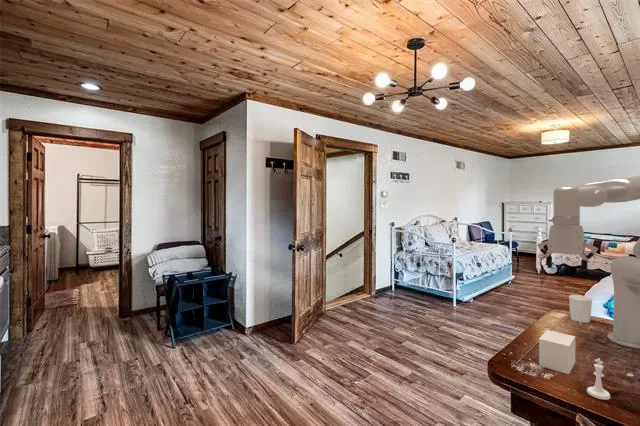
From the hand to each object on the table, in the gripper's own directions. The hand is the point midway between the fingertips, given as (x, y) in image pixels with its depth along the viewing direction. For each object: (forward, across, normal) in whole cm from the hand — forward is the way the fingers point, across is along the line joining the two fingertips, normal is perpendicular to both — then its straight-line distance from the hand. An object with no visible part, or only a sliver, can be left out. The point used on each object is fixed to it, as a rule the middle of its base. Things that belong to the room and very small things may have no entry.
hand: (566, 269), depth 118 cm
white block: (+28, +1, -17) cm, 33 cm away
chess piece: (+28, +12, -28) cm, 42 cm away
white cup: (+28, -1, +36) cm, 46 cm away
